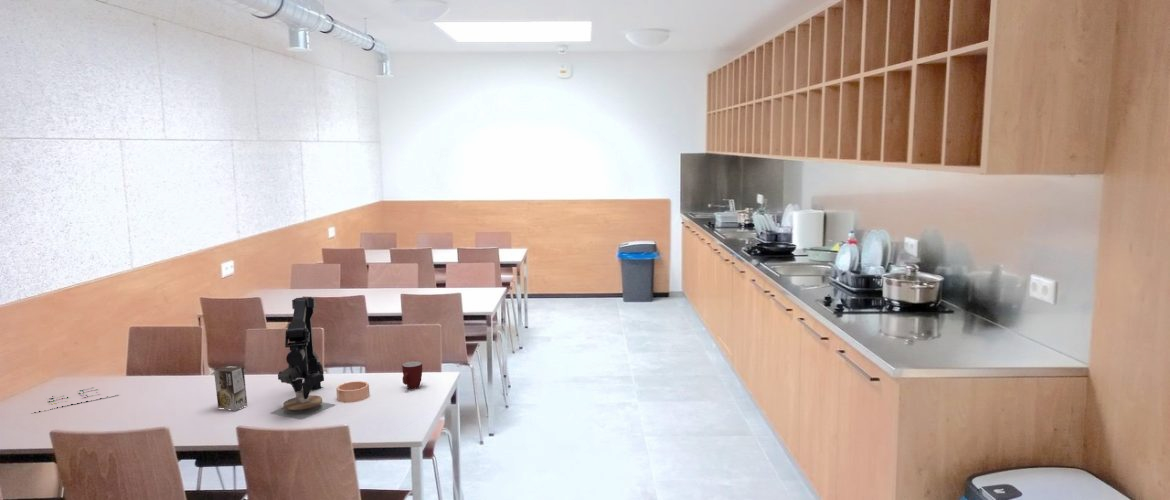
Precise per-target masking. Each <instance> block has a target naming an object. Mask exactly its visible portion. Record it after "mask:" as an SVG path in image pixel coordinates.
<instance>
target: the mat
mask: <svg viewBox="0 0 1170 500" xmlns="http://www.w3.org/2000/svg"><path fill="white" fill-rule="evenodd" d="M335 406H336V404H335V403H330V402H329V403H328V402H324V401H322V403H321V404H319V405H317V406H315V407H312V408H308V409H302V410H289V409H285V408H284V407H282V408H280V409H277V410H274V411H271V412H269V414H271V415H277V416H280V417H281V416H283V417H286V418H292V419H297V420H304V419H307V418H309V417H311V416H313V415H316V414H319V413H321V412H323V411H325V410H328V409H330V408H333V407H335Z"/></svg>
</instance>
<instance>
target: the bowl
mask: <svg viewBox="0 0 1170 500" xmlns="http://www.w3.org/2000/svg"><path fill="white" fill-rule="evenodd" d="M335 389H336V400H338V401H339V402H341V403H355V402H360V401H363V400H366V399H368V398H369V397H370V395H371V394H370V393H371V392H370V384H369V383H368V382H367V381H361V380H357V381H355V380H354V381H349V382H344V383H342V384H341V383H340V384H339V385H338V386H337V387H336V388H335Z"/></svg>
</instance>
